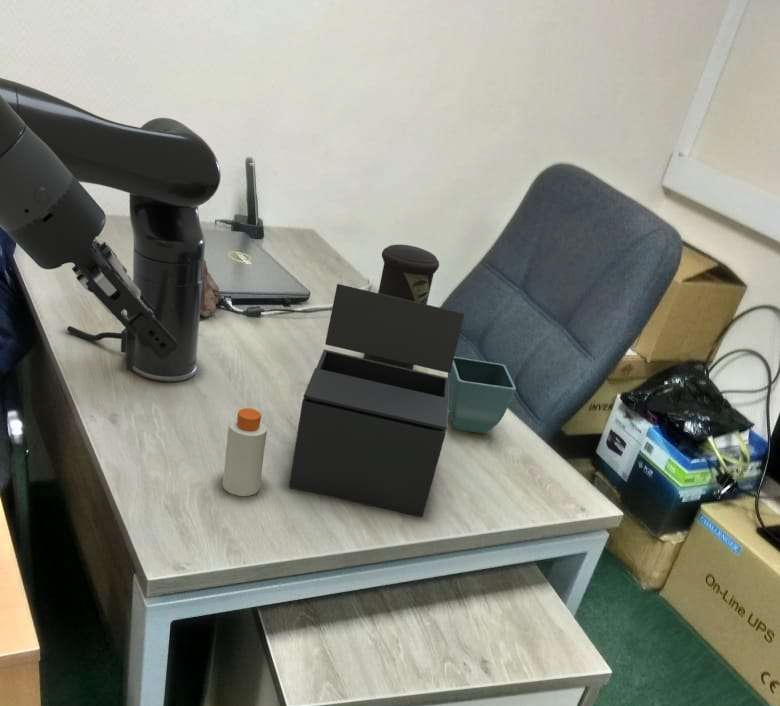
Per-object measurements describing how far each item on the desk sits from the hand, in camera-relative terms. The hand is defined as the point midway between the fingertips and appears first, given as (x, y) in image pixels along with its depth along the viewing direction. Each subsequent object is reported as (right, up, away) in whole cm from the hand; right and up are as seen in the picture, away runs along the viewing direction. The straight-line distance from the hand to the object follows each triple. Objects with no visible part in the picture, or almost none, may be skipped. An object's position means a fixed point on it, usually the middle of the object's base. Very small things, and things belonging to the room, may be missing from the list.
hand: (159, 335), depth 80 cm
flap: (+23, +7, +25) cm, 35 cm away
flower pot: (+35, -4, +44) cm, 56 cm away
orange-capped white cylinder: (+5, -14, +18) cm, 23 cm away
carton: (+19, -12, +27) cm, 35 cm away
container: (+22, +7, +55) cm, 60 cm away
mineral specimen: (-14, +18, +59) cm, 63 cm away
